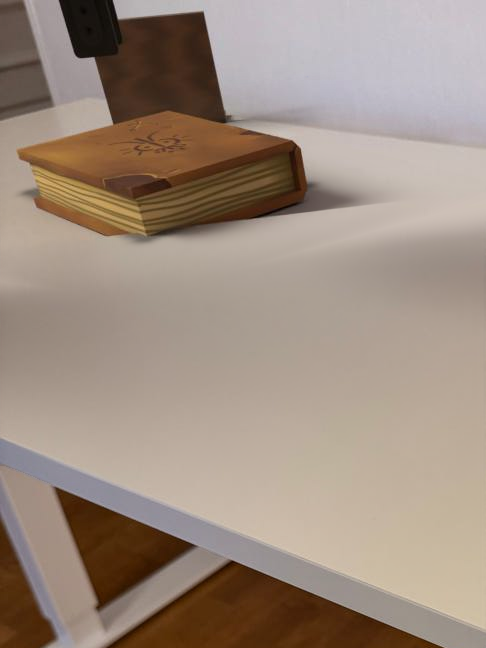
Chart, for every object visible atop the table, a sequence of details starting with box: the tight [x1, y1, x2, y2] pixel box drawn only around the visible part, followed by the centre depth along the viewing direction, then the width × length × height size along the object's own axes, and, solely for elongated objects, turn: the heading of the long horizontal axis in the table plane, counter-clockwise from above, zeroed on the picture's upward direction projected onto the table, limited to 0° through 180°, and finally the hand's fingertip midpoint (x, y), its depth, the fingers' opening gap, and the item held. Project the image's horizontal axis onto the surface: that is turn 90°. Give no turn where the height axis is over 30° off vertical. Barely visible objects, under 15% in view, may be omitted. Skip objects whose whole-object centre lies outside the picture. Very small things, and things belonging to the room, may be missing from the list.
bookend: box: [93, 10, 227, 125], centre depth 118 cm, size 14×4×12 cm, turn 102°
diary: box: [15, 111, 308, 237], centre depth 96 cm, size 23×19×6 cm
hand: (99, 48), depth 71 cm, fingers open, 3 cm apart
